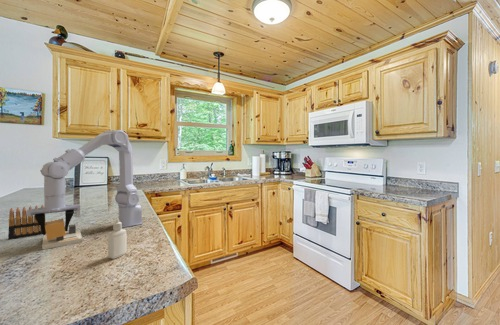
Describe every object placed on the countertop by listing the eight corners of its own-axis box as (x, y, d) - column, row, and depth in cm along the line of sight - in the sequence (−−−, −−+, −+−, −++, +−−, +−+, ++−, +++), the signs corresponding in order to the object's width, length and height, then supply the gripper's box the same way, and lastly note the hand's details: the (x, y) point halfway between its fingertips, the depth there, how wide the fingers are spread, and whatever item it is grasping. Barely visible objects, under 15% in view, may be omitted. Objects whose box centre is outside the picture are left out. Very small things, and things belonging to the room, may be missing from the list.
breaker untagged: (75, 230, 92) (75, 224, 92) (75, 232, 90) (75, 226, 90) (68, 231, 91) (68, 225, 91) (69, 233, 88) (69, 227, 88)
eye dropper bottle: (129, 254, 74) (129, 218, 74) (109, 260, 70) (109, 222, 70) (125, 250, 77) (124, 216, 77) (106, 255, 73) (105, 219, 73)
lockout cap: (65, 230, 86) (63, 218, 85) (65, 235, 81) (63, 221, 81) (47, 235, 83) (45, 222, 82) (47, 240, 78) (44, 226, 78)
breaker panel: (79, 232, 94) (79, 229, 94) (82, 242, 84) (82, 237, 84) (44, 238, 87) (43, 234, 87) (42, 249, 77) (42, 245, 77)
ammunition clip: (8, 239, 86) (7, 208, 86) (9, 238, 87) (8, 207, 87) (45, 234, 93) (45, 205, 92) (46, 232, 94) (45, 204, 94)
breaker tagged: (63, 237, 85) (63, 230, 85) (63, 239, 82) (63, 232, 82) (56, 238, 83) (56, 231, 83) (56, 241, 81) (56, 233, 81)
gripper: (25, 199, 74) (26, 240, 74) (80, 194, 83) (81, 231, 84) (27, 196, 79) (28, 234, 80) (79, 192, 89) (79, 226, 89)
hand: (55, 232), depth 82 cm, fingers closed on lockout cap, 5 cm apart
